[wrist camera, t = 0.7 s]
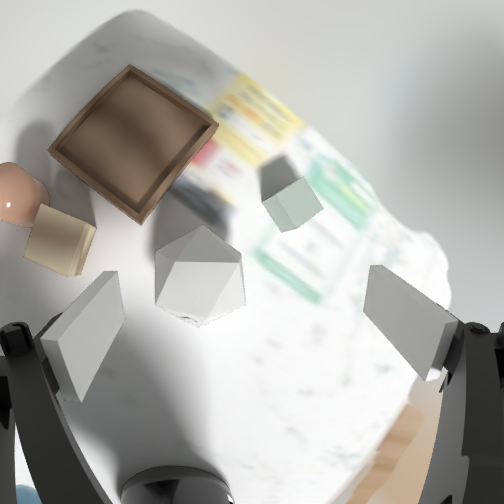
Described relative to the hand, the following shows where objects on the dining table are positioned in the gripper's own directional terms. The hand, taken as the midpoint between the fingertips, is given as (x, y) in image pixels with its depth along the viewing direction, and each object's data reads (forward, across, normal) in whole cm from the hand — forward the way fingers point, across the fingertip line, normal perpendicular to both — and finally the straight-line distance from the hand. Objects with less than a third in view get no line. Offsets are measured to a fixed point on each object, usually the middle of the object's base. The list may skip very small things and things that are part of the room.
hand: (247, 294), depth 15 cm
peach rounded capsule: (+14, +22, -4) cm, 26 cm away
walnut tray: (+18, +11, -9) cm, 23 cm away
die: (+16, +4, +5) cm, 17 cm away
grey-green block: (+20, -6, -2) cm, 21 cm away
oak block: (+14, +17, 0) cm, 22 cm away
